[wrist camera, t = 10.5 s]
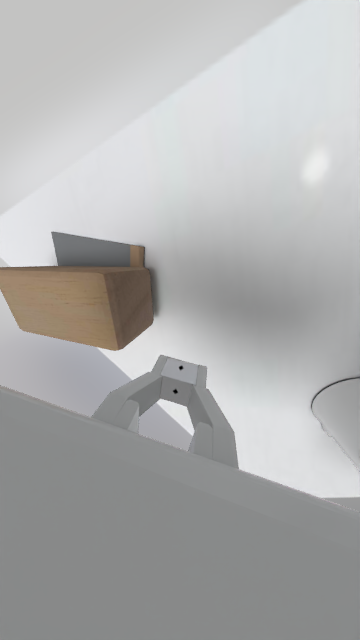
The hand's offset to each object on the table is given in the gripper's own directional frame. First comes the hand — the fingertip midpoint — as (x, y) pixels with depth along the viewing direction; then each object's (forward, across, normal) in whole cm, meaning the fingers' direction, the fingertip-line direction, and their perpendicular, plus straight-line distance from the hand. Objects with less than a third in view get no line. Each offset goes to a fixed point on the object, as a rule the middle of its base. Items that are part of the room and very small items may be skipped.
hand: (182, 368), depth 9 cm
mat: (+18, +20, 0) cm, 27 cm away
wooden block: (+10, +8, +1) cm, 13 cm away
